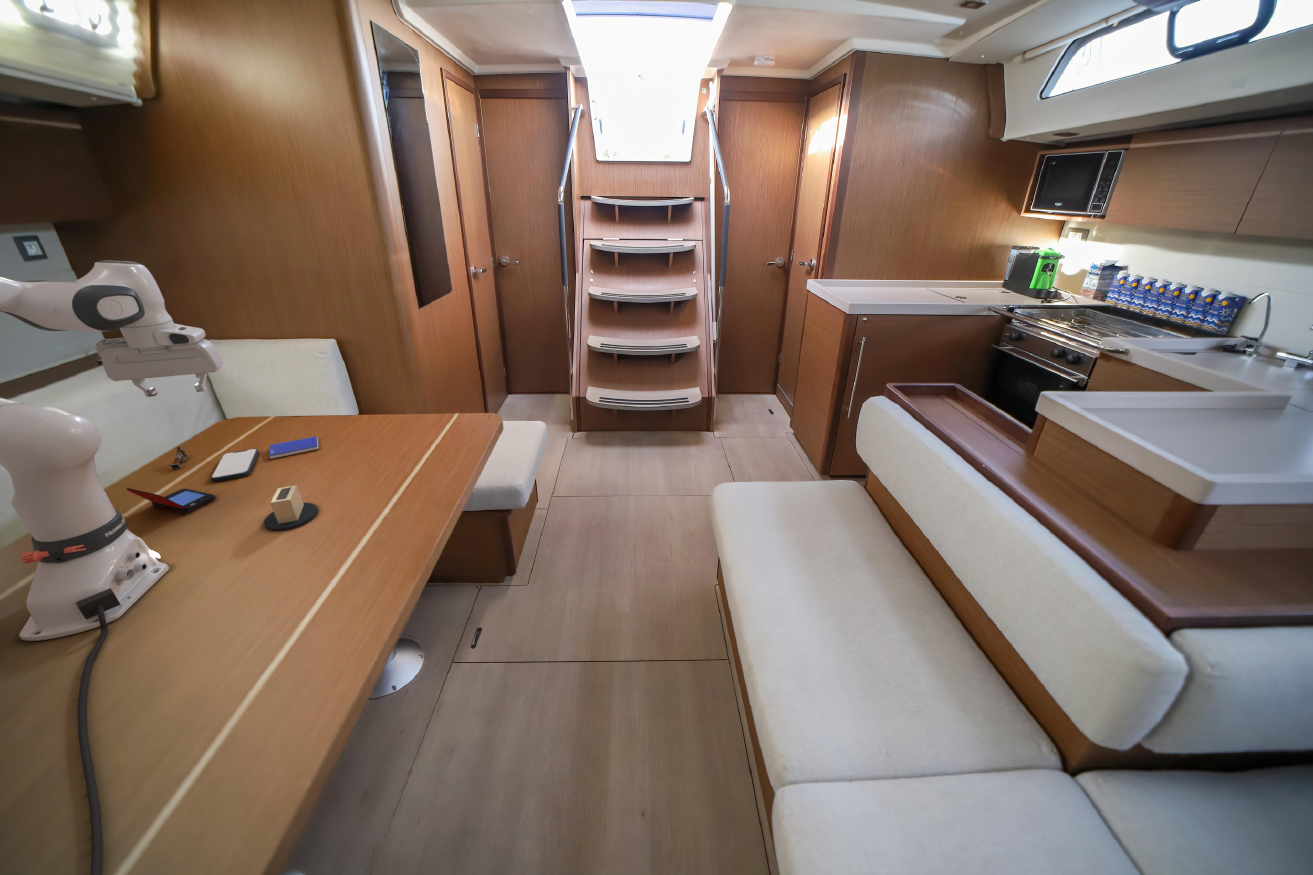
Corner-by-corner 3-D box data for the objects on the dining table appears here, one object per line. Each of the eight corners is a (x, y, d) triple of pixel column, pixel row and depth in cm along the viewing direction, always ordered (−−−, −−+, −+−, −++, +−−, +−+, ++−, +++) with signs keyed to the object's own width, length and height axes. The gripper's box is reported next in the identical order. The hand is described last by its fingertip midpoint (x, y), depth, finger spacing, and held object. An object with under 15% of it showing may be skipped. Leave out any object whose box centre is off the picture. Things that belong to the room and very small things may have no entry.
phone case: (250, 476, 141) (260, 452, 153) (248, 471, 140) (258, 447, 153) (210, 484, 137) (224, 458, 150) (208, 479, 136) (222, 453, 149)
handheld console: (219, 498, 130) (208, 474, 127) (172, 522, 121) (159, 496, 118) (185, 490, 133) (173, 466, 130) (137, 513, 124) (123, 487, 121)
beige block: (304, 503, 127) (297, 482, 125) (297, 520, 121) (289, 499, 118) (286, 506, 126) (278, 485, 123) (278, 523, 119) (269, 502, 117)
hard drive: (268, 455, 149) (317, 445, 155) (269, 444, 155) (316, 435, 161) (270, 459, 149) (318, 449, 155) (271, 448, 155) (317, 439, 162)
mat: (313, 525, 120) (312, 522, 120) (258, 535, 117) (257, 532, 116) (322, 501, 129) (321, 499, 129) (271, 510, 126) (270, 507, 125)
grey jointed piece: (191, 452, 151) (182, 443, 147) (185, 473, 146) (177, 463, 143) (183, 453, 150) (175, 444, 147) (177, 474, 146) (169, 465, 142)
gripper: (82, 343, 106) (113, 403, 112) (201, 335, 113) (224, 392, 119) (99, 336, 111) (128, 394, 117) (212, 328, 118) (233, 384, 124)
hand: (177, 393), depth 118 cm, fingers open, 8 cm apart
